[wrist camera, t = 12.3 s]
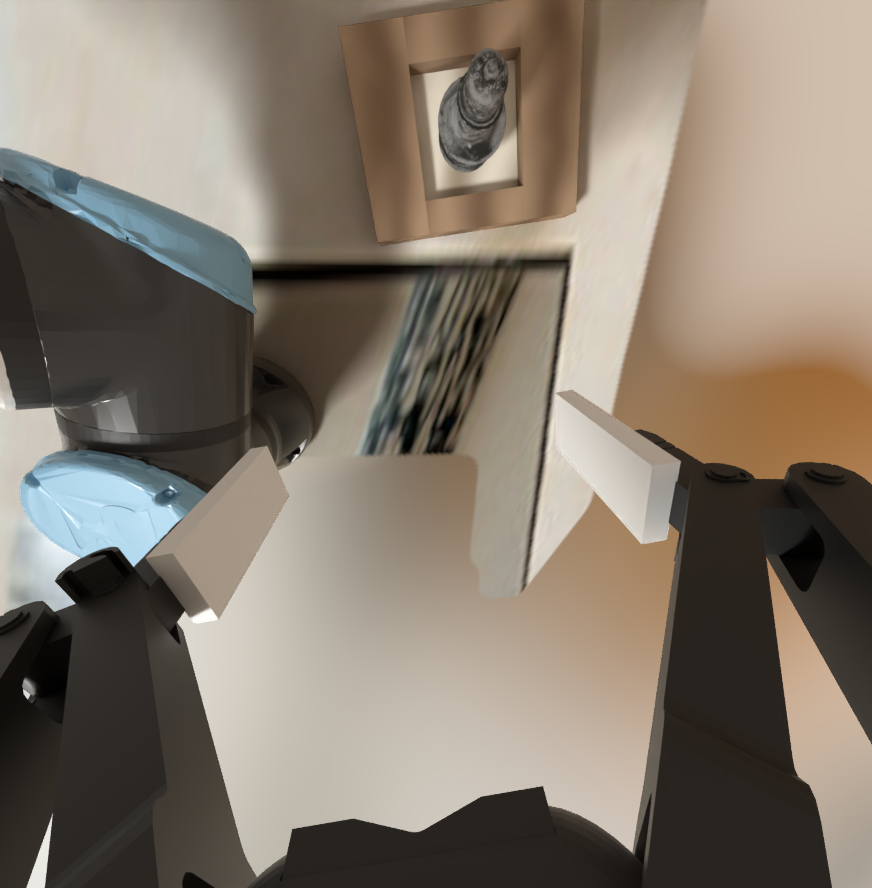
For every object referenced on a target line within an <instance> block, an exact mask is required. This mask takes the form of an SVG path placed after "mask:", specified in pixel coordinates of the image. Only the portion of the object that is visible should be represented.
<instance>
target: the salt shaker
mask: <svg viewBox="0 0 872 888" xmlns="http://www.w3.org/2000/svg"><path fill="white" fill-rule="evenodd" d="M508 79H509V72H508V66H507V63H506V60H505V58H504V57H503V55H502V54H501V53H500V52H499V51H497V50H495V49H493V48H485V49H483V50H481V51H479V52H478V53H477V54H476V55H475V56H474V58H473V59H472V61H471V63H470V65H469V68H468V71H467V72H466V73H465V74H464V76H462V77H459V78H458V79H457V80H456V81H454V82H453V83H452V84H451V85H450V86H449V88H448V89H447V91H446V92H445V93H444V96H443V98H442V101H441V103H440V108H439V113H438V129H439V146H440V150H441V153H442V155H443V157H444V159H445V161H446V162H447V163H448V164H449V166H451V167H452V168H453V169H455V170H457V171H460V172H472V171H475V170H477V169H478V168H480V167H481V166H482V165H483V164H484V163H485V162H486V160H487V159H489V158H490V157H491V156H492V155H493V154H494V153H495V151H496V150H497V149H498V147H499V145H500V143H501V141H502V139H503V136H504V132H505V128H506V109H505V103H504V94H505V92H506V90H507V86H508Z"/></svg>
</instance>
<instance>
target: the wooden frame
mask: <svg viewBox="0 0 872 888" xmlns="http://www.w3.org/2000/svg"><path fill="white" fill-rule="evenodd" d="M583 23H584V0H506V1H500V2H493V3H487V4H481V5H474V6H468V7H462V8H455V9H449V10H442V11H436V12H430V13H423V14H417V15H410V16H404V17H398V18H391V19H385V20H379V21H372V22H366V23H359V24H353V25H347V26H340V27H338V29H339V35H340V40H341V45H342V51H343V56H344V62H345V67H346V73H347V78H348V83H349V89H350V94H351V100H352V105H353V111H354V116H355V122H356V127H357V132H358V138H359V143H360V149H361V154H362V160H363V165H364V171H365V176H366V181H367V187H368V192H369V198H370V203H371V209H372V214H373V220H374V225H375V230H376V236H377V241H378V243H379V244H380V246H381V245H387V244H394V243H400V242H407V241H413V240H420V239H427V238H433V237H440V236H446V235H453V234H459V233H466V232H472V231H479V230H485V229H492V228H498V227H505V226H511V225H518V224H524V223H531V222H537V221H544V220H551V219H557V218H563V217H566V216H568V215H570V214H572V213H574V212H576V200H577V175H578V149H579V124H580V99H581V74H582V48H583ZM485 48H493V49H495V50H497V51H499V52H500V53H501V54H502V55H503V57H504V58H505V60H506V63H507V66H508V72H509V79H508V86H507V90H506V92H505V94H504V103H505V109H506V128H505V132H504V136H503V139H502V141H501V143H500V145H499V147H498V149H497V150H496V151H495V153H494V154H493V155H492V156H491V157H490V158H489V159H487V160H486V162H485V163H484V164H483V165H482V166H481V167H480V168H478V169H477V170H475V171H472V172H460V171H457V170H455V169H453V168H452V167H451V166H449V164H448V163H447V162H446V161H445V159H444V157H443V155H442V153H441V150H440V146H439V129H438V113H439V108H440V103H441V101H442V98H443V96H444V93H445V92H446V91H447V89H448V88H449V86H450V85H451V84H452V83H453V82H454V81H456V80H457V79H458V78H459V77H462V76H464V74H465V73H466V72H467V71H468V68H469V65H470V63H471V61H472V59H473V58H474V56H475V55H476V54H477V53H478V52H479V51H481V50H483V49H485Z"/></svg>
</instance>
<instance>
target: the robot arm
mask: <svg viewBox="0 0 872 888" xmlns="http://www.w3.org/2000/svg"><path fill="white" fill-rule="evenodd" d="M254 314H256V308H255V306H254V305H253V285H252V266H251V262H250V259H249V256H248V254H247V253H246V251H245V250H244V248H243V247H242V246H241V245H240V244H239V243H238V242H237V241H236V240H235V239H233V238H232V237H230V236H229V235H227V234H225V233H223V232H221V231H219V230H217V229H215V228H213V227H211V226H208V225H206V224H204V223H202V222H200V221H197V220H195V219H193V218H190V217H188V216H186V215H183V214H181V213H179V212H176V211H174V210H171V209H169V208H167V207H164V206H162V205H159V204H157V203H154V202H152V201H149V200H147V199H144V198H142V197H139V196H137V195H134V194H132V193H129V192H127V191H124V190H122V189H119V188H116V187H114V186H111V185H109V184H106V183H103V182H101V181H98V180H95V179H93V178H90V177H84V176H82V175H80V174H78V173H76V172H73V171H70V170H67V169H64V168H61V167H59V166H56V165H53V164H51V163H49V162H47V161H45V160H42V159H39V158H37V157H34V156H31V155H28V154H25V153H22V152H19V151H16V150H12V149H9V148H1V147H0V407H1V408H3V409H5V410H21V409H35V408H49V407H53V408H54V411H55V415H56V419H57V424H58V428H59V432H60V436H61V440H62V446H63V447H62V451H58V452H55V453H52V454H50V455H48V456H45V457H43V458H41V459H40V460H39V461H38V462H37V464H36V466H35V467H34V469H33V470H32V471H30V472H29V473H27V474H26V475H25V476H24V478H23V480H22V482H21V484H20V500H21V504H22V506H23V509H24V511H25V513H26V515H27V516H28V518H29V519H30V521H31V522H32V523H33V524H34V526H35V527H36V528H37V529H38V530H39V531H40V532H41V533H43V534H44V535H45V536H46V537H47V538H48V539H50V540H51V541H52V542H54V543H55V544H57V545H58V546H60V547H61V548H63V549H64V550H66V551H68V552H71V553H73V554H75V555H77V556H78V557H80V558H81V559H79V560H77V561H76V562H74V563H73V564H71V565H70V566H68V567H67V568H66V569H65V570H64V571H62V572H61V573H60V574H59V575H58V577H57V579H56V580H55V582H56V583H57V584H58V585H59V586H60V587H61V588H62V589H63V590H64V591H65V592H66V593H67V594H68V595H69V597H70V598H71V599H72V600H73V601H74V602H75V603H76V604H74V605H72V606H69V607H66V608H64V609H61V610H59V611H56V612H54V611H53V610H52V609H51V608H50V607H49V606H48V605H47V604H46V603H44V602H43V601H37V602H32V603H29V604H26V605H23V606H21V607H19V608H17V609H15V610H11V611H9V612H7V613H5V614H4V616H0V888H26V887H27V884H28V881H29V878H30V876H31V873H32V870H33V867H34V864H35V862H36V859H37V856H38V853H39V850H40V847H41V845H42V842H43V839H44V836H45V833H46V831H47V828H48V825H49V822H50V819H51V817H52V814H53V818H52V827H51V837H50V846H49V855H48V864H47V874H46V883H45V888H832V886H831V880H830V873H829V867H828V861H827V855H826V849H825V843H824V837H823V831H822V825H821V820H820V816H819V811H818V807H817V803H816V799H815V797H814V795H813V793H812V790H811V788H810V786H809V785H808V784H807V783H805V782H804V781H803V780H801V779H800V778H799V777H798V775H797V773H796V771H795V768H794V763H793V758H792V751H791V743H790V735H789V728H788V720H787V712H786V705H785V697H784V690H783V682H782V674H781V667H780V659H779V652H778V644H777V637H776V629H775V621H774V614H773V606H772V599H771V591H770V583H769V576H768V569H767V561H766V557H767V559H768V560H769V562H770V564H771V566H772V568H773V569H774V571H775V573H776V575H777V576H778V578H779V580H780V582H781V584H782V585H783V587H784V589H785V591H786V592H787V594H788V596H789V598H790V600H791V601H792V603H793V605H794V607H795V608H796V610H797V612H798V614H799V616H800V617H801V619H802V621H803V623H804V625H805V626H806V628H807V630H808V631H809V633H810V635H811V637H812V639H813V641H814V642H815V644H816V646H817V648H818V649H819V651H820V653H821V655H822V656H823V658H824V660H825V662H826V664H827V665H828V667H829V669H830V671H831V673H832V674H833V676H834V678H835V680H836V681H837V683H838V685H839V687H840V689H841V690H842V692H843V694H844V695H845V697H846V699H847V701H848V703H849V705H850V706H851V708H852V710H853V712H854V713H855V715H856V717H857V719H858V721H859V722H860V724H861V726H862V728H863V729H864V731H865V733H866V735H867V737H868V738H869V740H870V742H871V744H872V485H871V484H870V483H869V482H868V481H867V480H866V479H864V478H863V477H862V476H860V475H858V474H856V473H855V472H853V471H850V470H847V469H845V468H842V467H840V466H837V465H831V464H827V463H814V462H804V463H797V464H793V465H791V466H790V467H789V468H788V470H787V473H786V476H785V479H755V478H754V476H753V475H752V474H750V473H749V472H747V471H745V470H743V469H741V468H738V467H735V466H731V465H726V464H720V463H706V464H703V463H702V462H700V461H698V460H697V459H695V458H693V457H692V456H690V455H688V454H687V453H685V452H684V451H682V450H680V449H679V448H675V446H674V445H672V444H671V443H669V442H666V440H664V439H663V438H661V437H659V436H658V435H656V434H653V433H650V432H647V431H644V430H632V429H631V428H629V427H628V426H626V425H625V424H623V423H622V422H620V421H619V420H617V419H616V418H614V417H613V416H611V415H610V414H608V413H607V412H605V411H604V410H602V409H601V408H599V407H598V406H596V405H595V404H593V403H591V402H590V401H588V400H587V399H585V398H584V397H582V396H581V395H579V394H578V393H576V392H575V391H573V390H569V391H563V392H558V393H555V417H556V448H557V449H558V450H559V452H560V453H561V454H562V455H563V456H564V457H565V458H566V459H567V461H568V462H569V463H570V464H571V465H572V466H573V467H574V468H575V470H576V471H577V472H578V473H579V474H580V475H581V476H582V477H583V479H584V480H585V481H586V482H587V483H588V484H589V485H590V486H591V488H592V489H593V490H594V491H595V492H596V493H597V494H598V495H599V497H600V498H601V499H602V500H603V501H604V502H605V503H606V504H607V506H608V507H609V508H610V509H611V510H612V511H613V512H614V513H615V515H616V516H617V517H618V518H619V519H620V520H621V521H622V522H623V524H624V525H625V526H626V527H627V528H628V529H629V530H630V532H631V533H632V534H633V535H634V536H635V537H636V538H637V539H638V541H639V542H640V543H641V544H645V543H651V542H656V541H662V540H667V535H668V530H669V524H671V525H672V526H673V527H674V528H675V529H676V530H677V531H679V538H678V543H677V548H676V554H675V558H674V561H675V565H674V572H673V580H672V587H671V594H670V601H669V608H668V616H667V622H666V629H665V637H664V644H663V651H662V658H661V665H660V672H659V679H658V686H657V693H656V701H655V708H654V715H653V722H652V729H651V736H650V743H649V750H648V758H647V765H646V772H645V780H644V786H643V792H642V798H641V803H640V809H639V814H638V821H637V827H636V833H635V840H634V848H633V853H632V852H630V851H629V850H628V849H627V848H626V847H625V846H624V845H622V844H621V843H620V842H619V841H618V840H617V839H615V838H614V837H613V836H611V835H610V834H609V833H607V832H606V831H605V830H603V829H602V828H600V827H599V826H597V825H596V824H594V823H592V822H590V821H589V820H587V819H585V818H583V817H581V816H579V815H577V814H574V813H572V812H569V811H567V810H564V809H561V808H556V807H552V806H548V803H547V800H546V796H545V792H544V789H543V786H542V787H536V788H530V789H525V790H518V791H513V792H506V793H501V794H495V795H489V796H483V797H480V798H478V799H477V800H475V801H473V802H471V803H470V804H468V805H466V806H464V807H463V808H461V809H459V810H458V811H456V812H454V813H452V814H451V815H449V816H447V817H446V818H444V819H442V820H440V821H438V822H437V823H435V824H433V825H432V826H430V827H428V828H427V829H425V830H423V831H420V832H408V831H404V830H400V829H396V828H391V827H387V826H382V825H378V824H374V823H369V822H365V821H361V820H357V819H349V820H343V821H337V822H331V823H325V824H319V825H313V826H308V827H302V828H296V829H292V833H291V838H290V843H289V847H288V852H287V855H285V856H284V857H282V858H281V859H279V860H278V861H277V862H275V863H274V864H273V865H271V866H270V867H268V868H267V869H266V870H265V871H264V872H263V873H262V874H260V875H259V876H258V877H256V875H255V873H254V872H253V870H252V868H251V866H250V865H249V863H248V861H247V859H246V857H245V854H244V852H243V849H242V846H241V842H240V838H239V835H238V831H237V827H236V824H235V820H234V816H233V813H232V809H231V805H230V801H229V798H228V794H227V791H226V787H225V783H224V779H223V776H222V772H221V768H220V765H219V761H218V757H217V754H216V750H215V746H214V743H213V739H212V735H211V732H210V728H209V724H208V721H207V717H206V713H205V709H204V706H203V702H202V698H201V695H200V691H199V687H198V684H197V680H196V677H195V673H194V669H193V665H192V662H191V658H190V655H189V651H188V647H187V643H186V640H185V636H184V632H183V630H182V628H181V627H180V626H179V625H178V623H177V621H178V620H179V618H180V617H181V615H182V614H183V613H184V611H185V612H186V613H187V614H188V616H189V617H190V619H191V620H192V621H193V623H194V624H197V623H202V622H208V621H213V620H219V618H220V616H221V615H222V613H223V611H224V609H225V608H226V606H227V604H228V602H229V600H230V599H231V597H232V595H233V594H234V592H235V590H236V588H237V587H238V585H239V583H240V581H241V579H242V578H243V576H244V574H245V572H246V571H247V569H248V567H249V566H250V564H251V562H252V560H253V558H254V557H255V555H256V553H257V551H258V550H259V548H260V546H261V544H262V543H263V541H264V539H265V537H266V536H267V534H268V532H269V530H270V529H271V527H272V525H273V523H274V522H275V520H276V518H277V516H278V515H279V512H280V511H281V509H282V508H283V506H284V504H285V502H286V501H287V499H288V497H289V495H288V492H287V490H286V488H285V485H284V483H283V481H282V478H281V476H280V474H279V472H278V470H280V469H282V468H284V467H286V466H288V465H290V464H291V463H292V462H294V461H295V460H296V459H297V458H298V457H299V456H300V455H301V454H302V453H303V451H304V450H305V448H306V447H307V445H308V444H309V442H310V440H311V438H312V435H313V431H314V423H315V420H314V412H313V408H312V404H311V402H310V399H309V397H308V395H307V394H306V392H305V390H304V389H303V388H302V386H301V385H300V384H299V382H298V381H297V380H296V379H295V378H294V377H293V376H292V375H290V374H289V373H288V372H287V371H285V370H284V369H282V368H281V367H279V366H277V365H275V364H274V363H271V362H269V361H267V360H264V359H261V358H257V357H253V336H254ZM23 689H24V690H26V691H27V692H28V693H30V694H31V695H30V697H29V699H28V700H27V698H26V697H25V695H24V694H23Z"/></svg>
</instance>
